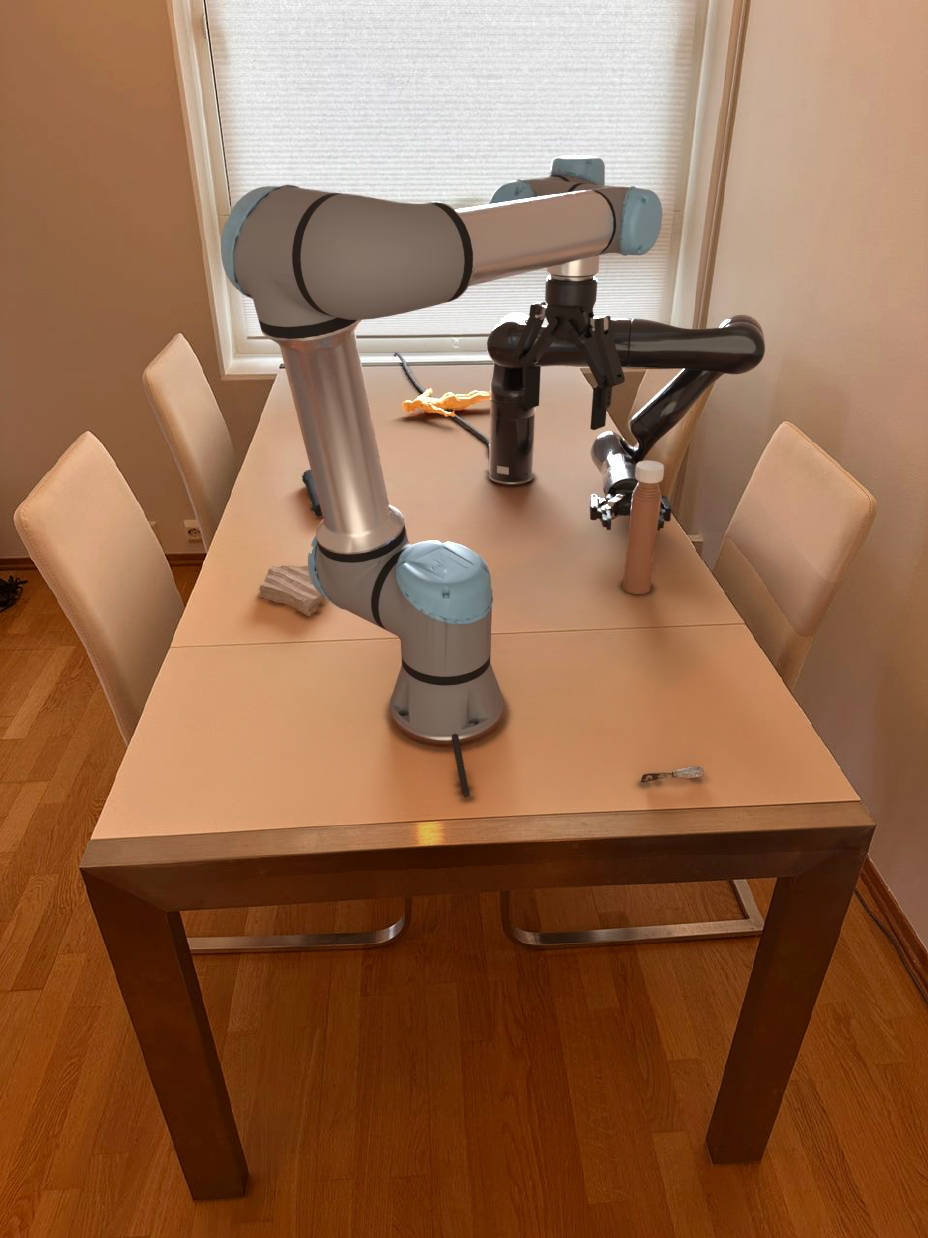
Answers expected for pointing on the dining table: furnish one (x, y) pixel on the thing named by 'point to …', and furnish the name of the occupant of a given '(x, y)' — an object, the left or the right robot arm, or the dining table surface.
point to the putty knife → (674, 774)
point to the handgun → (312, 492)
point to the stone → (291, 588)
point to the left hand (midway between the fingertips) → (563, 417)
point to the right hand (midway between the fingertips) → (634, 525)
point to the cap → (649, 471)
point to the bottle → (642, 537)
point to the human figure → (444, 402)
